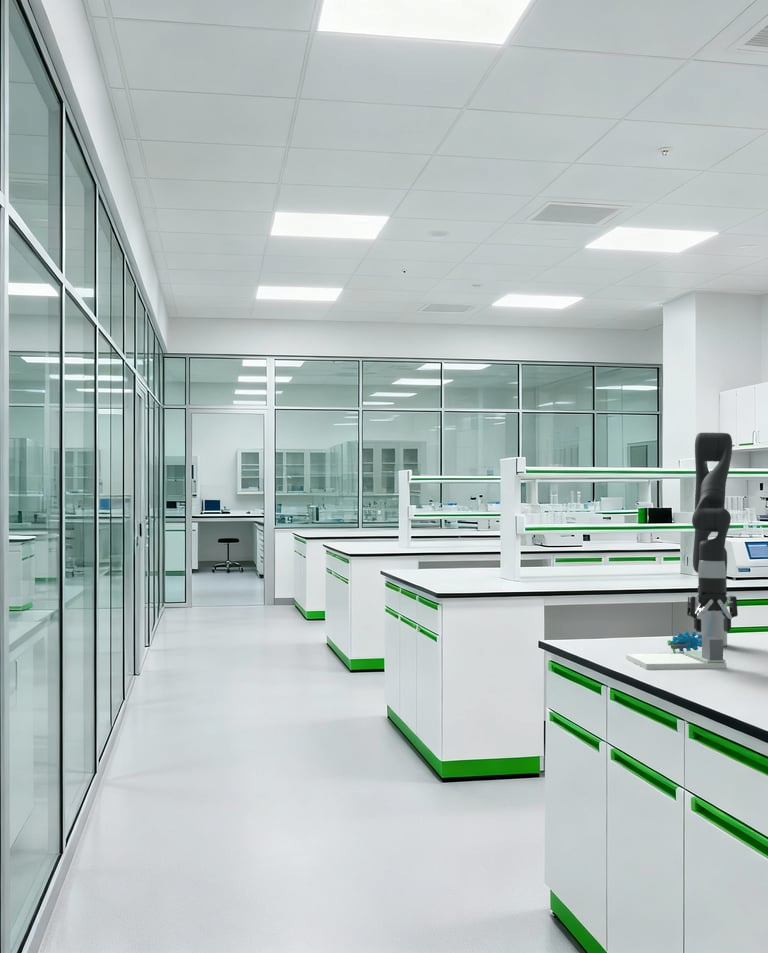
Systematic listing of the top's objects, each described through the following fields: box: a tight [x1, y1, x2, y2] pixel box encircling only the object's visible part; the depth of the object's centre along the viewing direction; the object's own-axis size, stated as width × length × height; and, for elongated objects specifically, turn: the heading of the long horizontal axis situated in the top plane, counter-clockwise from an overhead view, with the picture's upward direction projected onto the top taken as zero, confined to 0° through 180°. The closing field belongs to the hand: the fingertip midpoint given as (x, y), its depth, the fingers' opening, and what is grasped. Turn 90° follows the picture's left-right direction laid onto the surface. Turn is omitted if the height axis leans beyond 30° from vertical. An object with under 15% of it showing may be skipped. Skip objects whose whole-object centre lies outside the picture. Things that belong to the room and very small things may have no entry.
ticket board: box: [625, 652, 727, 670], centre depth 257 cm, size 16×24×2 cm, turn 95°
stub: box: [683, 637, 726, 663], centre depth 258 cm, size 16×5×7 cm, turn 5°
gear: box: [667, 630, 702, 654], centre depth 273 cm, size 11×6×10 cm
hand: (712, 631), depth 252 cm, fingers open, 8 cm apart
